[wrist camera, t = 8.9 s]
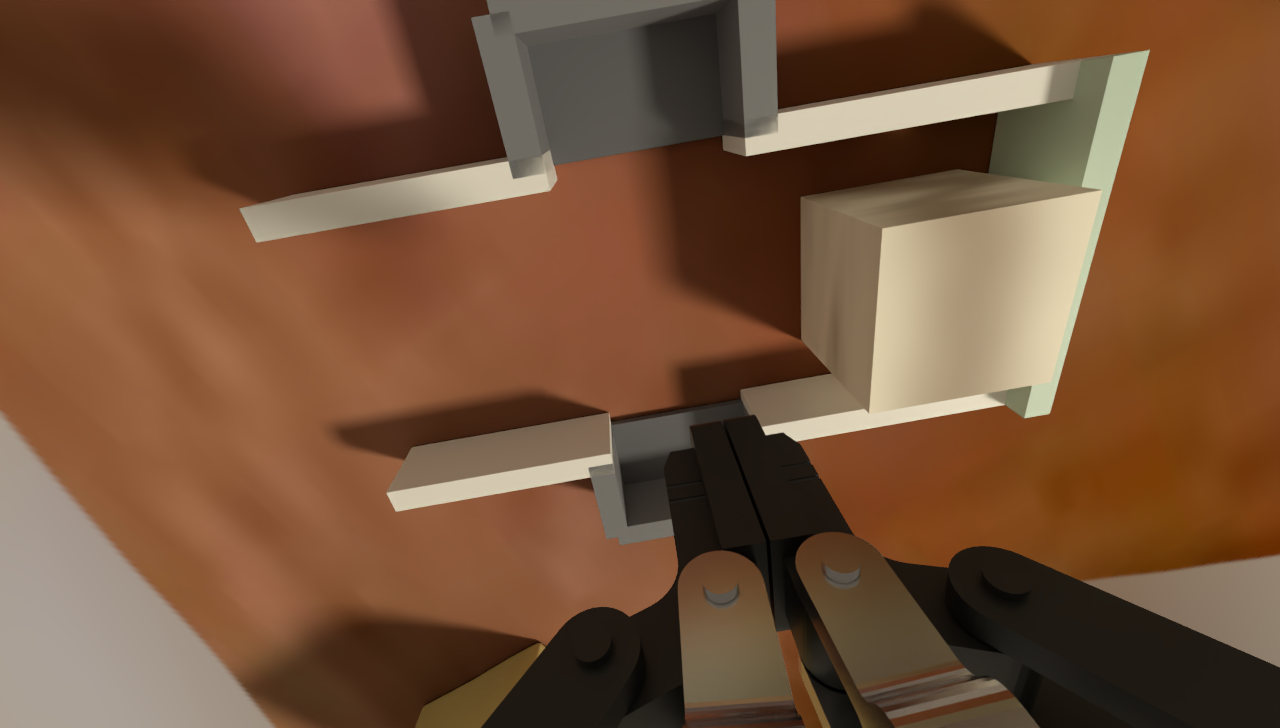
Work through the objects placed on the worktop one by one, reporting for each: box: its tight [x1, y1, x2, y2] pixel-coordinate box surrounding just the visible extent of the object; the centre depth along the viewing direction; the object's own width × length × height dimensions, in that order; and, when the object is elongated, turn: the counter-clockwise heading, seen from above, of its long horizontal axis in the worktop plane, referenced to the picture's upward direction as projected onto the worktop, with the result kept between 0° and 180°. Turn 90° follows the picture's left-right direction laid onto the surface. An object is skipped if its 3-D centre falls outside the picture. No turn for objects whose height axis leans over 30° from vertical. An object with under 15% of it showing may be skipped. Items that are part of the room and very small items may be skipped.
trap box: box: [240, 0, 1150, 545], centre depth 18 cm, size 26×20×4 cm
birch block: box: [801, 169, 1102, 414], centre depth 17 cm, size 6×6×6 cm
